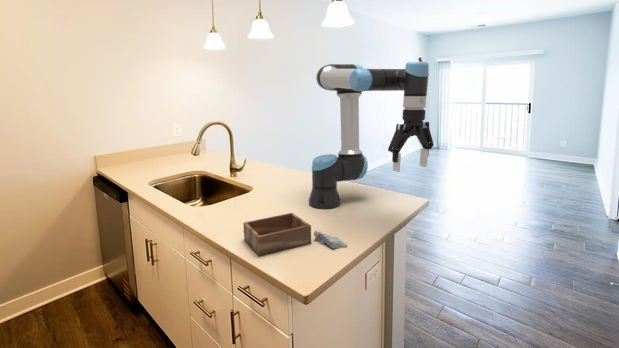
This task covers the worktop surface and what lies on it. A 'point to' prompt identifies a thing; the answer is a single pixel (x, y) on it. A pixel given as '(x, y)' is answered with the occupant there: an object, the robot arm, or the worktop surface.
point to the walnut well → (277, 234)
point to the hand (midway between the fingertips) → (410, 168)
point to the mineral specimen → (329, 240)
